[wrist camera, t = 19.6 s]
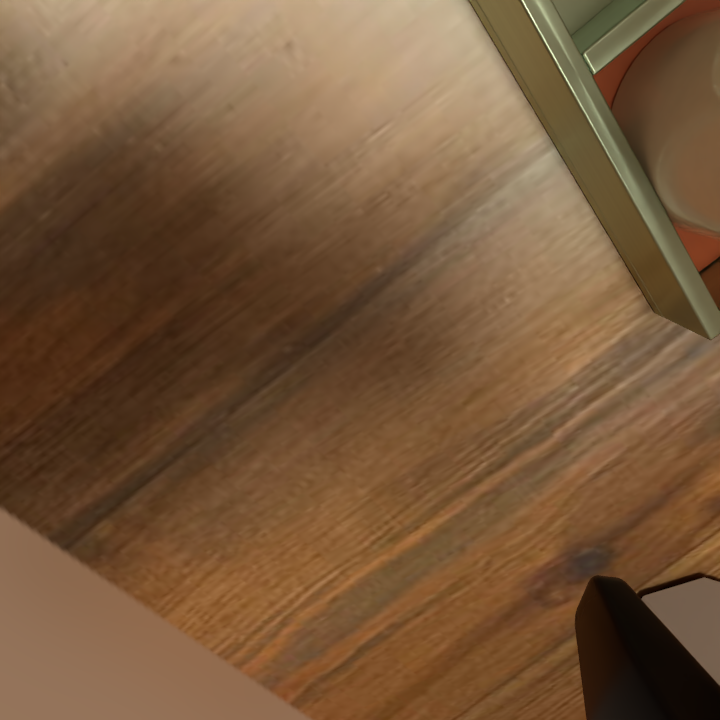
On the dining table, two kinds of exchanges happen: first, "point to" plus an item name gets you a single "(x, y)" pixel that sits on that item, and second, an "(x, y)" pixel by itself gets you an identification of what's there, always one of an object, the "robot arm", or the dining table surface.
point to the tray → (609, 134)
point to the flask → (692, 619)
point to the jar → (678, 120)
